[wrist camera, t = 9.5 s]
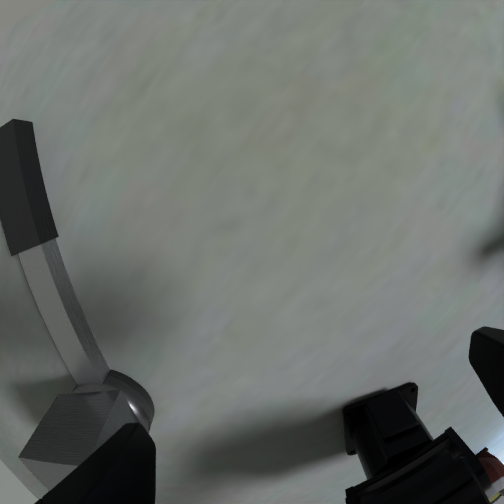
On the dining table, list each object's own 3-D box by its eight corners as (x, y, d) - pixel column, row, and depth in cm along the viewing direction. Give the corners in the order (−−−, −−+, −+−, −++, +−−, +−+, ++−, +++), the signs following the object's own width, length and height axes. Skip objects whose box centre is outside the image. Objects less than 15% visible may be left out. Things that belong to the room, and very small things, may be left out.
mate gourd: (450, 483, 28) (489, 553, 13) (442, 468, 26) (488, 550, 12) (492, 451, 27) (537, 516, 13) (489, 431, 25) (545, 505, 11)
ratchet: (167, 426, 21) (154, 481, 16) (102, 430, 22) (82, 477, 16) (52, 110, 15) (-3, 97, 10) (-11, 149, 16) (-65, 150, 10)
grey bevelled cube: (155, 445, 19) (138, 518, 12) (95, 446, 19) (69, 509, 12) (120, 389, 18) (86, 466, 11) (58, 394, 18) (18, 457, 11)
